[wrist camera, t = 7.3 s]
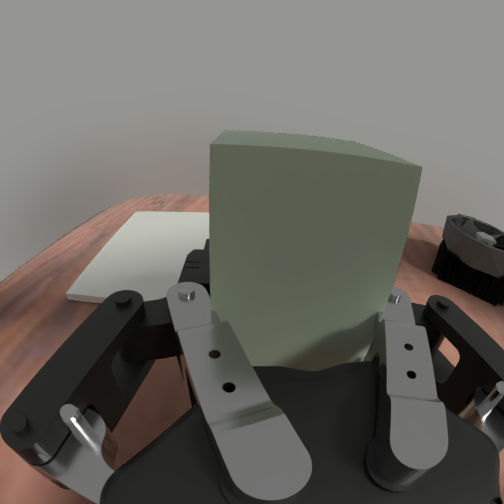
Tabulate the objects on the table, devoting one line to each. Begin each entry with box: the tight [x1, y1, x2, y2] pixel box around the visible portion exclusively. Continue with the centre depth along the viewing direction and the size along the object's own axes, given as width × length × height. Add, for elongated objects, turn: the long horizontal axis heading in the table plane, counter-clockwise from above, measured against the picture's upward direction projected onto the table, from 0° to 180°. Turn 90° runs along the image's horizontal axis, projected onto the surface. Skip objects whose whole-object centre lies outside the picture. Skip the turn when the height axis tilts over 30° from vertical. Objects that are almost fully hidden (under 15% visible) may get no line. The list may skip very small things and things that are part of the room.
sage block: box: [209, 130, 422, 371], centre depth 11 cm, size 5×5×12 cm
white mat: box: [66, 212, 209, 303], centre depth 27 cm, size 18×18×1 cm
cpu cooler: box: [432, 214, 504, 306], centre depth 24 cm, size 10×6×10 cm
